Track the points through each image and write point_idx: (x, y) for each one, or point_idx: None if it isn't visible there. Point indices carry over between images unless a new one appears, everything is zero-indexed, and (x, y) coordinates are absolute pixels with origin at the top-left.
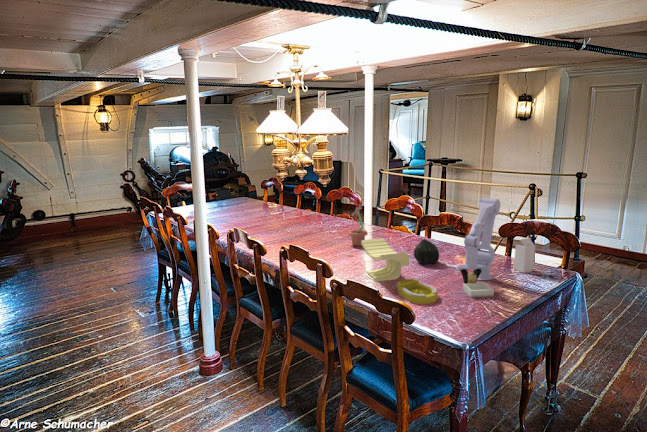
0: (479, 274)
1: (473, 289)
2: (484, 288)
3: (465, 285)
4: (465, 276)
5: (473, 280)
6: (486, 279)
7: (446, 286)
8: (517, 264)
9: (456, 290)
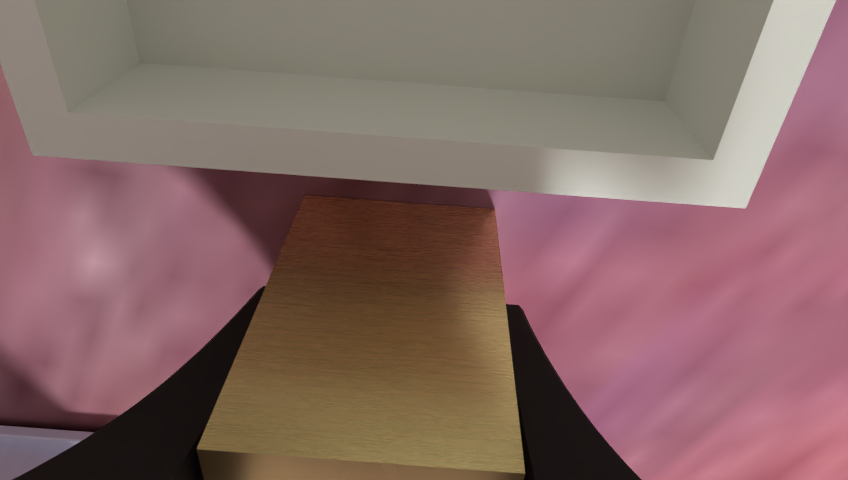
0: (79, 451)
1: (468, 12)
2: (136, 16)
3: (790, 58)
4: (594, 451)
5: (340, 312)
6: (1, 430)
7: (837, 348)
8: None
9: (823, 140)
